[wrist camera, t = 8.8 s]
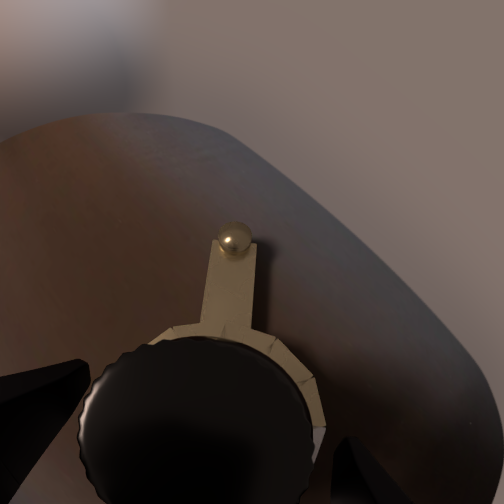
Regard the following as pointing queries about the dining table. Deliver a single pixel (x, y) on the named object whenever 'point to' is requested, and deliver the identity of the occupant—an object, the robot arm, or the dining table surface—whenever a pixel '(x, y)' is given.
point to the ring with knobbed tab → (242, 310)
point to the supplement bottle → (196, 427)
